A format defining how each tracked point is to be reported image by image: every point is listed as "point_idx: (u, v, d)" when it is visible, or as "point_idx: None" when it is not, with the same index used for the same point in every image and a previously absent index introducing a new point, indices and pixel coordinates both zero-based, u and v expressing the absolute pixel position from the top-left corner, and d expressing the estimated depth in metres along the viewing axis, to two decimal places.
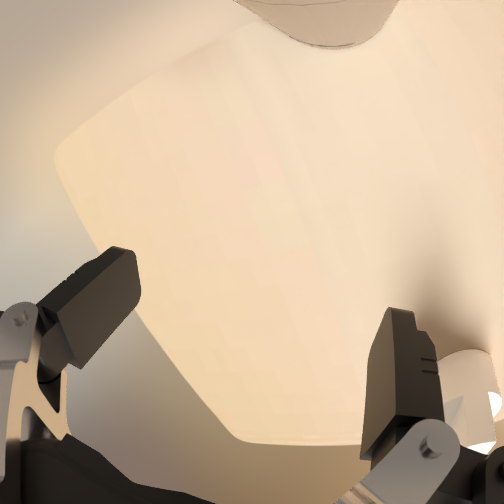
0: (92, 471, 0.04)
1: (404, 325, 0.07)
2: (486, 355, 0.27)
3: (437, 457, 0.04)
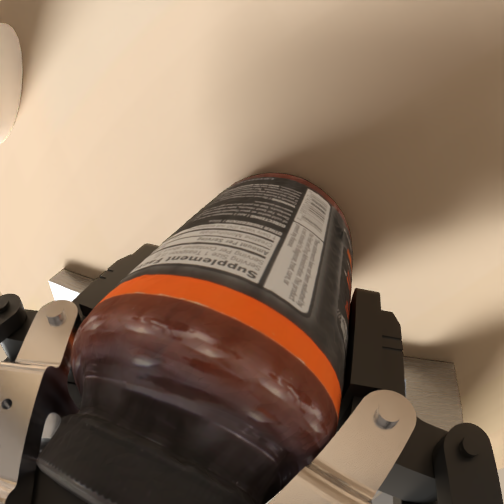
0: None
1: (368, 304, 0.08)
2: (14, 97, 0.13)
3: (390, 426, 0.05)
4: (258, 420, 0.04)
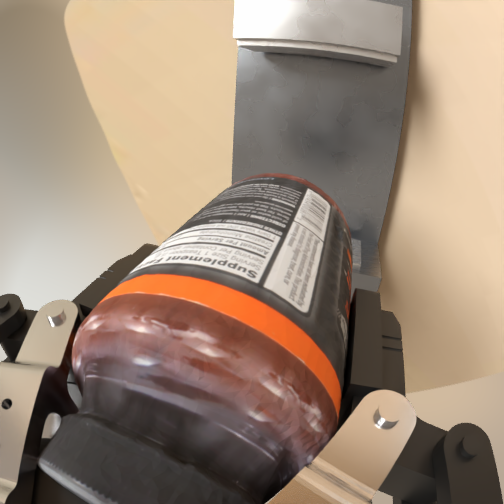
0: None
1: (368, 304, 0.08)
2: None
3: (390, 426, 0.05)
4: (258, 419, 0.04)
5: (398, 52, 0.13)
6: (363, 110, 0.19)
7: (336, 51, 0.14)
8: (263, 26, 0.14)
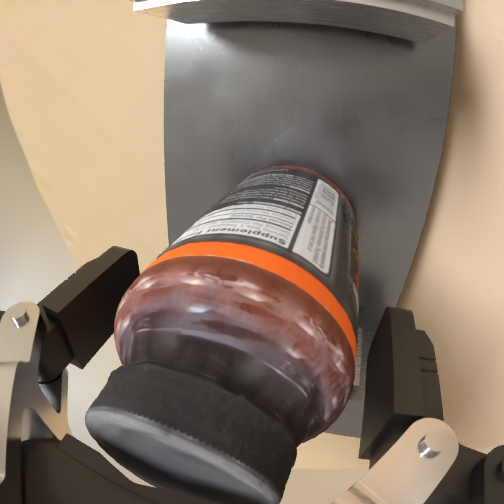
0: (92, 471, 0.04)
1: (403, 324, 0.07)
2: None
3: (436, 456, 0.04)
4: (294, 356, 0.05)
5: (459, 4, 0.04)
6: (378, 119, 0.11)
7: None
8: None
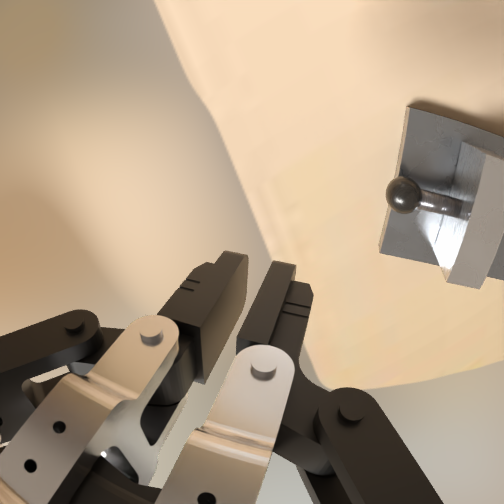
0: (92, 471, 0.04)
1: (280, 273, 0.09)
2: None
3: (261, 376, 0.06)
4: None
5: None
6: None
7: None
8: (480, 267, 0.18)
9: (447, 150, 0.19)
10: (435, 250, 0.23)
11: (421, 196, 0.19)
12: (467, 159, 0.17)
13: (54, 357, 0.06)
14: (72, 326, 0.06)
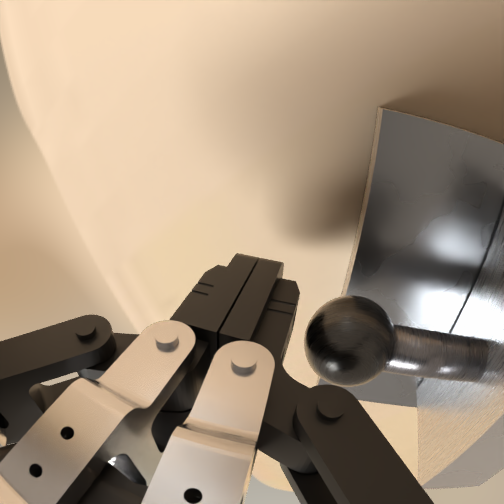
0: None
1: (266, 271, 0.09)
2: None
3: (240, 372, 0.06)
4: None
5: None
6: None
7: None
8: (491, 468, 0.06)
9: (472, 215, 0.08)
10: (418, 397, 0.11)
11: (392, 352, 0.08)
12: None
13: (63, 363, 0.05)
14: (84, 332, 0.06)
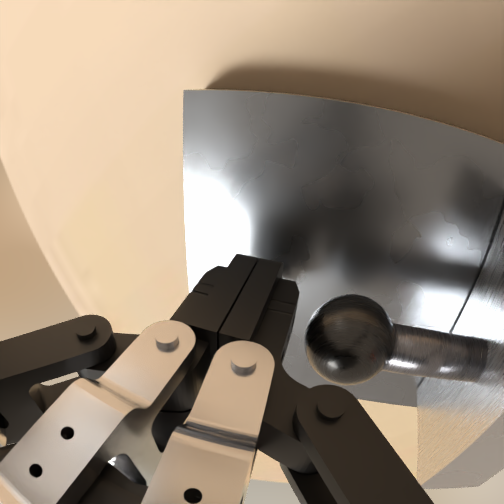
0: None
1: (265, 271, 0.09)
2: None
3: (240, 372, 0.06)
4: None
5: None
6: None
7: None
8: (490, 468, 0.06)
9: (287, 175, 0.09)
10: (419, 397, 0.11)
11: (391, 351, 0.08)
12: None
13: (63, 363, 0.05)
14: (83, 332, 0.06)
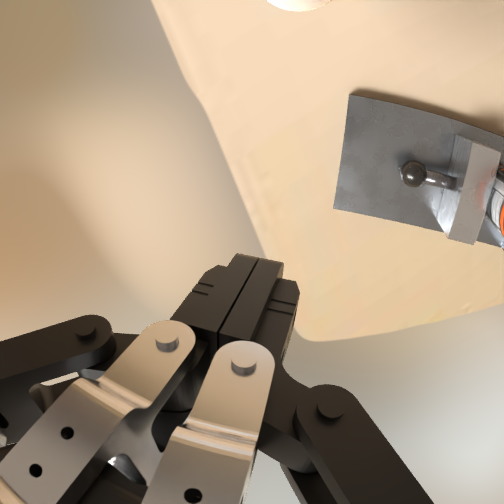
0: None
1: (266, 271, 0.09)
2: None
3: (240, 372, 0.06)
4: None
5: (498, 152, 0.20)
6: (452, 147, 0.26)
7: (492, 187, 0.22)
8: (473, 226, 0.24)
9: (381, 125, 0.27)
10: (437, 218, 0.29)
11: (426, 174, 0.25)
12: (459, 147, 0.24)
13: (63, 363, 0.05)
14: (84, 332, 0.06)
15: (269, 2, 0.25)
